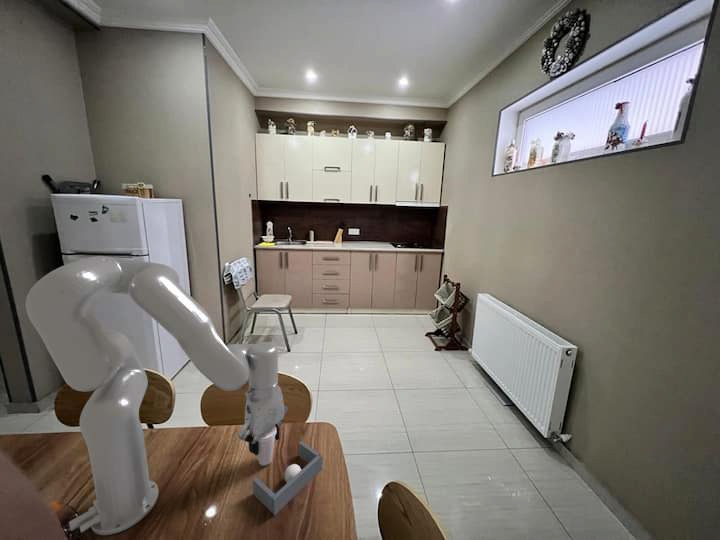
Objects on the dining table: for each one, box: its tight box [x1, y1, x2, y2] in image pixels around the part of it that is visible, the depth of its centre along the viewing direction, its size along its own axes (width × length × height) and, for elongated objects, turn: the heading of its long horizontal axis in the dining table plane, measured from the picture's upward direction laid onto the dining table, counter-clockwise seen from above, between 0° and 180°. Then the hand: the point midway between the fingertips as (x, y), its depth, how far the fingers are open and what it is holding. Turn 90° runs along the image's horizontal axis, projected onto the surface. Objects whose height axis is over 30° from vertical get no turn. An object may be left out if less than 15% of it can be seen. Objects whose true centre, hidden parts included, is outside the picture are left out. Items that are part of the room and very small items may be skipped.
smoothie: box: [256, 425, 277, 466], centre depth 81 cm, size 6×6×14 cm
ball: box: [284, 463, 302, 484], centre depth 76 cm, size 4×4×4 cm
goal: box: [252, 440, 323, 516], centre depth 76 cm, size 16×8×4 cm, turn 144°
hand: (265, 444), depth 81 cm, fingers closed on smoothie, 6 cm apart
